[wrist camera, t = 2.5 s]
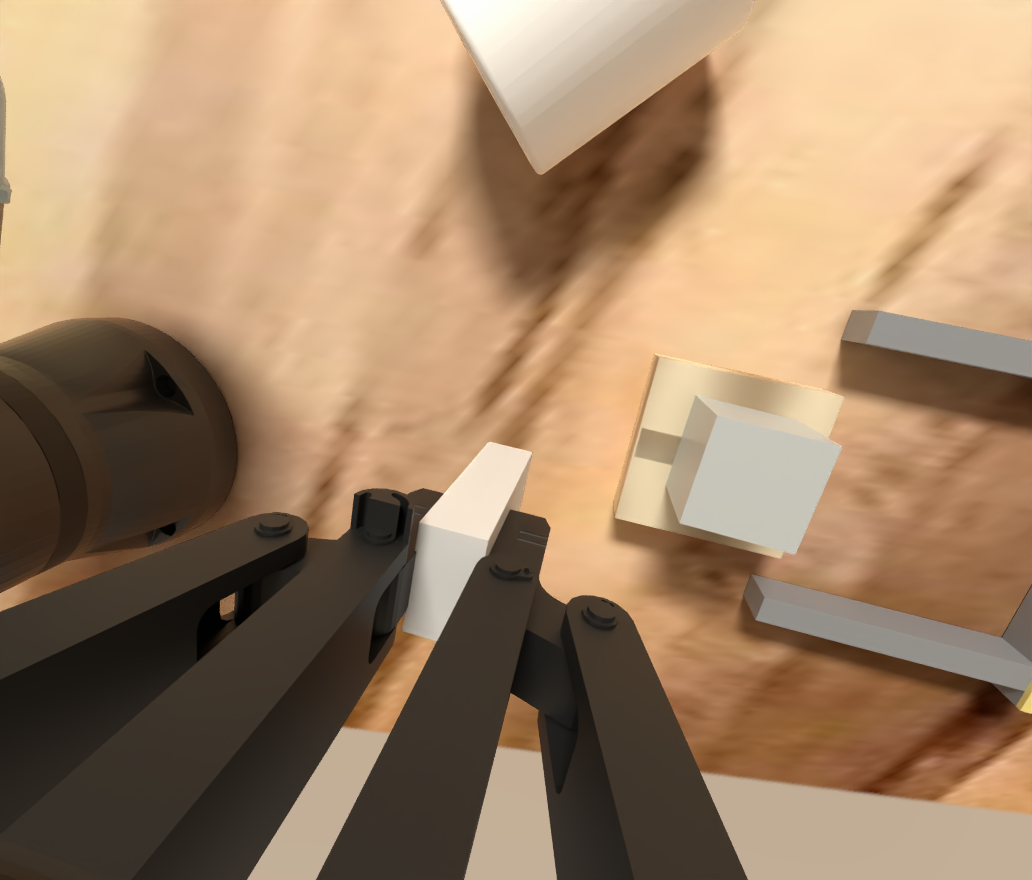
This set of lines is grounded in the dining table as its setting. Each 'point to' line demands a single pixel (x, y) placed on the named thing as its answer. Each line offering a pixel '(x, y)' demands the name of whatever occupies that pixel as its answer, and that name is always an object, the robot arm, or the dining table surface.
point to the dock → (1002, 661)
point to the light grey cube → (749, 474)
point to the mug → (584, 59)
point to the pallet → (665, 422)
